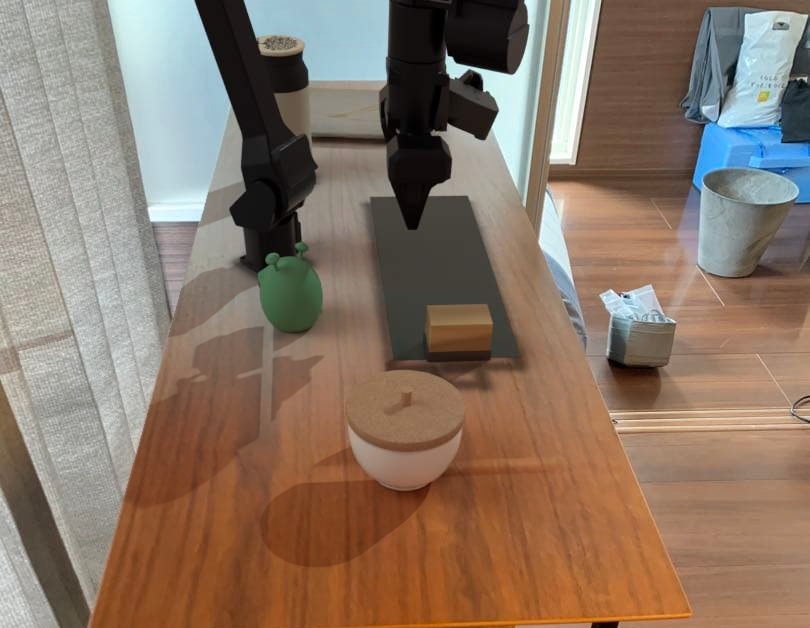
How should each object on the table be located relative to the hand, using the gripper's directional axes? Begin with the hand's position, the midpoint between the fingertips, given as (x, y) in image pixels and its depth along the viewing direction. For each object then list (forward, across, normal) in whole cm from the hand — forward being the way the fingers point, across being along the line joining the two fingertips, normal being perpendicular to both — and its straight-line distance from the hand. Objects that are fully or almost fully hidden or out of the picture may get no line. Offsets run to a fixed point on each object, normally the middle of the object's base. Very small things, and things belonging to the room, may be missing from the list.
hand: (409, 209), depth 92 cm
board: (+11, +6, -4) cm, 13 cm away
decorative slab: (+12, +57, +4) cm, 58 cm away
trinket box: (+11, -31, +2) cm, 33 cm away
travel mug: (+12, +34, +15) cm, 39 cm away
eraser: (+10, -13, -5) cm, 17 cm away
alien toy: (+12, -6, +13) cm, 19 cm away
